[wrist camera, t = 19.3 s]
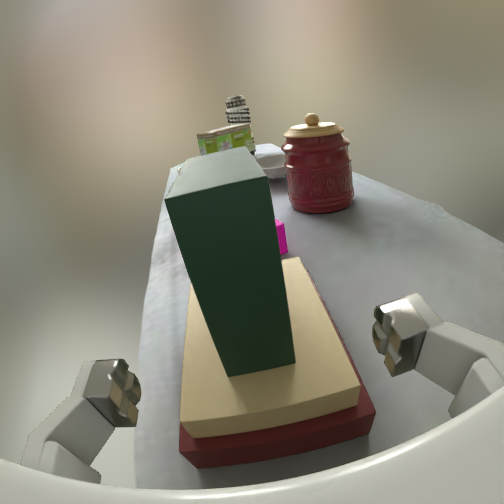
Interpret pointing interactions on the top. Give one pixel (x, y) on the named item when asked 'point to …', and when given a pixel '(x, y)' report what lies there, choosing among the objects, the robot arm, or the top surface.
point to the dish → (273, 165)
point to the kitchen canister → (318, 167)
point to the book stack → (272, 389)
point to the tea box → (226, 139)
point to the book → (234, 258)
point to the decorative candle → (238, 112)
